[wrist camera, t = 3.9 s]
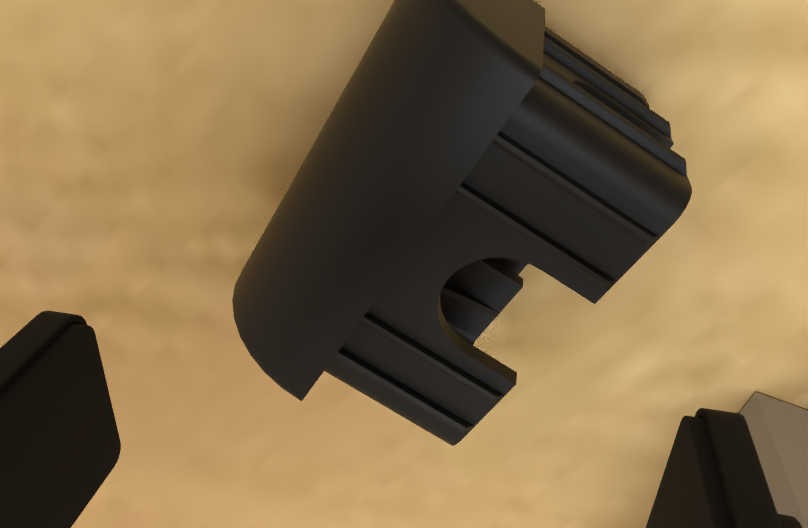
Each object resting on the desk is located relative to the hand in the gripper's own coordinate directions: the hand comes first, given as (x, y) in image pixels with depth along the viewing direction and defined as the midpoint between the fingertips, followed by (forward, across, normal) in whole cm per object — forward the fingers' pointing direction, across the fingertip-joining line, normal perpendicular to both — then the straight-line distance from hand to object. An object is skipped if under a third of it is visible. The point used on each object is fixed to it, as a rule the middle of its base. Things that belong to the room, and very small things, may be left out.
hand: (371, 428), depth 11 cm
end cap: (+12, 0, 0) cm, 12 cm away
